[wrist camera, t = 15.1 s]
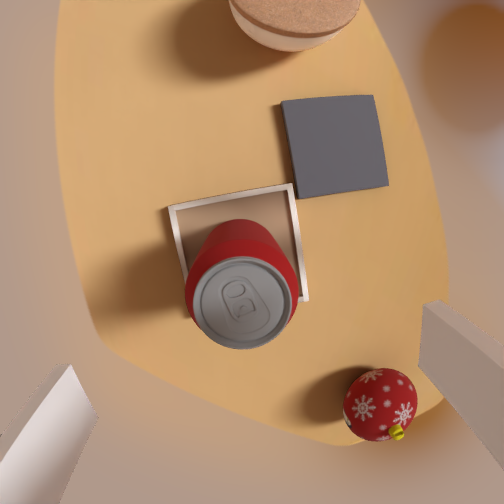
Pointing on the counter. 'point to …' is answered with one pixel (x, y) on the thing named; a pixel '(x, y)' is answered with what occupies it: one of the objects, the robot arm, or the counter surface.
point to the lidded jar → (293, 21)
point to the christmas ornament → (380, 405)
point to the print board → (241, 207)
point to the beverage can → (241, 286)
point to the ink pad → (334, 144)
